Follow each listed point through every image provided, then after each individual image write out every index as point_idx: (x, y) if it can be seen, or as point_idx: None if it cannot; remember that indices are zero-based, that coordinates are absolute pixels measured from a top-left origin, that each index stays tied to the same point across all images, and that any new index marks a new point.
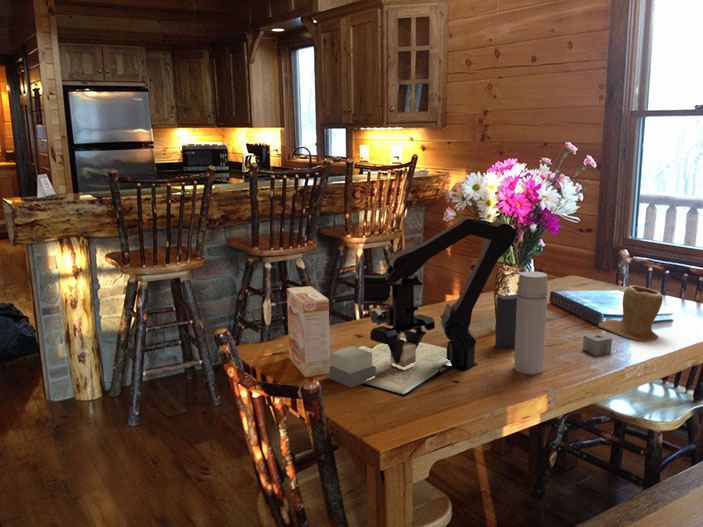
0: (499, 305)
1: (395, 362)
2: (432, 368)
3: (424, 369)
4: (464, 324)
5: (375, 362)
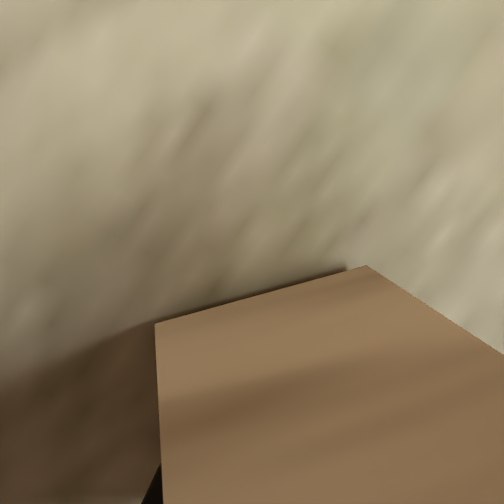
0: None
1: None
2: None
3: None
4: None
5: (69, 21)
